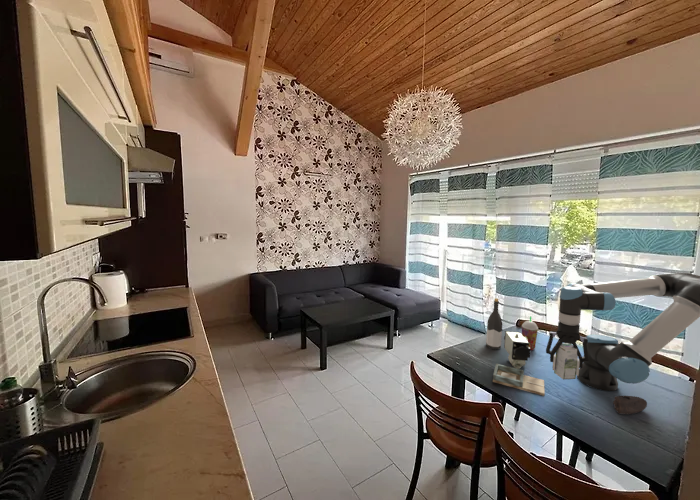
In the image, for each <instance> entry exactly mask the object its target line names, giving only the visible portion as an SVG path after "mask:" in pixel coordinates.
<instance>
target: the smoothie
mask: <svg viewBox="0 0 700 500" xmlns="http://www.w3.org/2000/svg"><path fill="white" fill-rule="evenodd" d="M538 330H539V327H538V325H537V324H536V322H534V321H532V316H529V320H526V321H523V323H522V325H521V335H522V336H523V337H526V339H528V343H529V348H530V349H531V351H534V350H535V348H536V344H537V337H538V332H539V331H538ZM531 351H530V352H531Z"/></svg>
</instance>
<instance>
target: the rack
mask: <svg viewBox="0 0 700 500" xmlns="http://www.w3.org/2000/svg"><path fill="white" fill-rule="evenodd" d="M524 374H525V370H523V369H521V368H520V369H516V368H514V367H513V366H508V365H503V364H499V363H495V367H494V370H493V374H492V375H493V376H492V383H496V384H499V385H503V386H506V387H510V388H514V389H518V390H522V391H525V392H529V393H531V394H535V395H540V396H543V397H545V392H546V390H545V380H544V379H541V378H537V377H533V376H529V375H524Z"/></svg>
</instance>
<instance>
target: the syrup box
mask: <svg viewBox="0 0 700 500" xmlns="http://www.w3.org/2000/svg"><path fill="white" fill-rule="evenodd" d="M555 355H556V360H555V371H554V370H553V371H554V374H556V375H557V376H558V377H560V378H561V379H562V380H564V381H565V380H577V375H576V370H577V360H578V359H579V358H578V355H577V349H575V348H574V346H573V344H569V343H562V344H561V345H560V347H559V349H558V350H557V351H556V353H555Z"/></svg>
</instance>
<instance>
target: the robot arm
mask: <svg viewBox="0 0 700 500" xmlns="http://www.w3.org/2000/svg"><path fill="white" fill-rule="evenodd" d="M643 296H655V297H659V298H660V297H668V298H672V299H673V302H672V303H671V304H670V305H668V306H667V307H666V308H665V309H664V310H663V311H662V312H661V313H659V314H658V315H657V316H655V318H654V319H653V320H651V321H650V322H649V323H648V324H647V325H646V326H644V328H642V329H641V330H640V331H639V332H638V333H637V334H635V335H634V336H633V337H632V338H631V339H630V340H628V341H621V342H620V343H619V340H618V339H617V338H616V337H615V338H614V337H612V336H608V335H603V334H596V333H595V334H594V333H593V334H588V335H586V336H582V335H580V323H581V315H582V314H581V312H582V311H612V310H614V308H615V307H616V299H619V298H620V299H621V298H631V297H643ZM558 309H559V310H558V322H557V330H556V331H548V334H549V336H548V337H549V338H548V341H547V343H546V348H545V353H546V354H548V355H550V357H549V361H550V363H552V371H555V360H556V351H557V350H558V349H559V347H560V345H561V344H562V343H569V344H572V345H573V346H574V348H575V349H577V355H578V360H577V370H576V379H577V380H578V381H579V382H581V383H582V384H583V385H586V386H588V387H589V388H593V389H596V390H599V391H603V392H615V391H617V390H618V387H619V382H618V380H619V381H621V382H623V383H625V384H631V385H634V384H639V383H643V382H645V380H647V379H648V378H649V377H650V372H651V370H650V369H651V368H650V366H651V365H653V362H652V358H653V357H654V356H655V355H656V354H658V353H659V352H660V351H662V349H663V348H665V347H666V346H667V345H668V344H670V343H671V342H672V341H674V340H675V339H676V338H677V337H678V336H679V335H680V334H681V333H683V332H684V330H686V329H687V328H688V327H689V326H691V325H692V324H693V323H694V322H696V321H697V320H698V319H699V318H700V275H697V274H694V273H689V272H675V273H665V274H664V273H663V274H653V275H650V276H649V277H646V278H637V279H636V278H635V279H627V280H626V279H624V280H616V281H606V282H597V283H595V282H594V283H584V284H582V283H581V284H580V283H577V282H571V283H568V284H567V285H566V286H563V287H561V289H560V293H559V307H558ZM555 337H557V338H558V340H557V342H556V343H555V344H554V346H553V347H552V344H553V341H554V338H555ZM579 340H580V341H581V343H582V350H583V351H582V352H583V356H582V353H581V352H580V349H579V347H578V344H577V343H576V342H578V341H579ZM551 347H552V349H551Z"/></svg>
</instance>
